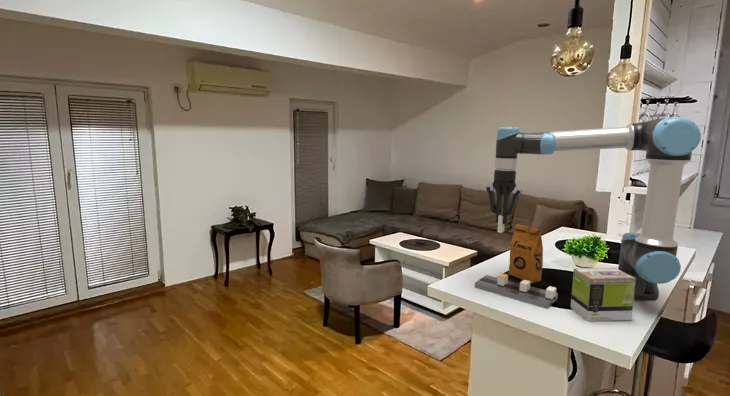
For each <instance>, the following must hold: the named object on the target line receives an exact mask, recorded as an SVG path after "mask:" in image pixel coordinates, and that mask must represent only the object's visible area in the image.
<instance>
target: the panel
mask: <svg viewBox="0 0 730 396" xmlns="http://www.w3.org/2000/svg"><path fill="white" fill-rule="evenodd" d="M497 281H498V276H497V277H496V276H492V275H487V274H486V275H484V276H483V277H481V278H479V279H478V280H477V281H475V282H474V288H475V289H479V290H482V291H486V292H489V293H492V294H496V295H499V296H503V297H506V298H508V299H514V300H517V301H519V302H523V303H527V304H531V305H534V306H537V307H541V308H543V309H547V310H549V309H550V307H551V306H552V305H553V304H554V303H555V302H556V301H557V300H558V297H559V296H558V295H559V293H557V292H556V296H555V297H554V298H553V299H549V298H545V294H546V289H542V288H540V287H539V288H538V287H534V286H531V285H530V289H529V290H528V291H527V292H523V291H520V290H519V289H520V282H515V281H512V280H508V283H507V284H506V285H504V286H501V285H498V284H497Z"/></svg>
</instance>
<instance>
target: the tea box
mask: <svg viewBox="0 0 730 396" xmlns="http://www.w3.org/2000/svg"><path fill="white" fill-rule="evenodd" d="M572 272H573V274H572V287H571V295H570V297H571V298H570V308H571V310H573V311H574V312H575V313H576V314H577V315H579V316H580V317H581V318H582V319H584V320H585V321H587V322H589V321H590V322H591V321H593V322H596V321H597V322H599V321H600V322H601V321H632V319H633V311H634V310H633V309H634V302H635V300H634V293H635V283H636V278H635V277H633V276H631V275H629V274H626V273H624V272H622V271H620V270H618V268H617V267H588V268H581V267H580V268H573V271H572Z"/></svg>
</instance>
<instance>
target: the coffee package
mask: <svg viewBox="0 0 730 396" xmlns="http://www.w3.org/2000/svg"><path fill="white" fill-rule="evenodd" d="M514 229H515V230H514V232H513V235H512V238H511V241H510V246H509V247H510V248H509V265H508V274H507V275H508V276H513V277H515V278H518V279H520V280H521V281H523V280H527V281H531V282H530V284H534V283H537V282H541V281H542V274H543V266H544V265H543V263H544V259H543V258H544V257H543V256H544V247H543V240H542V234H541V229H540V228H537V227H531V226H527V225H523V224H518V223H517V224H515V226H514Z"/></svg>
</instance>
